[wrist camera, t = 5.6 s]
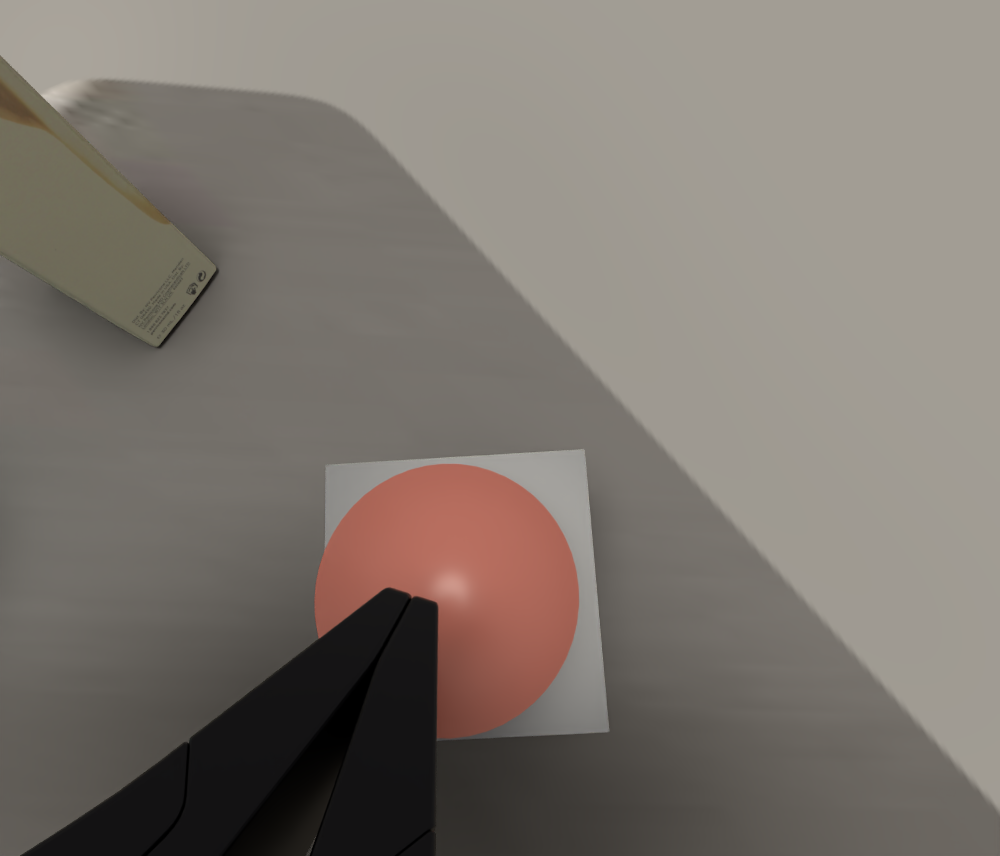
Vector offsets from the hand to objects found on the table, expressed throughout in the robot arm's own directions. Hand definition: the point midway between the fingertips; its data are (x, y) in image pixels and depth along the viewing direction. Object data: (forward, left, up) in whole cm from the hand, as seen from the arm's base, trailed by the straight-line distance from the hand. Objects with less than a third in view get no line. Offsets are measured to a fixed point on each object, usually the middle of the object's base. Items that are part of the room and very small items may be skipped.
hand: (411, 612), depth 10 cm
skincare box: (+14, +14, -14) cm, 24 cm away
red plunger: (0, 0, -11) cm, 11 cm away
